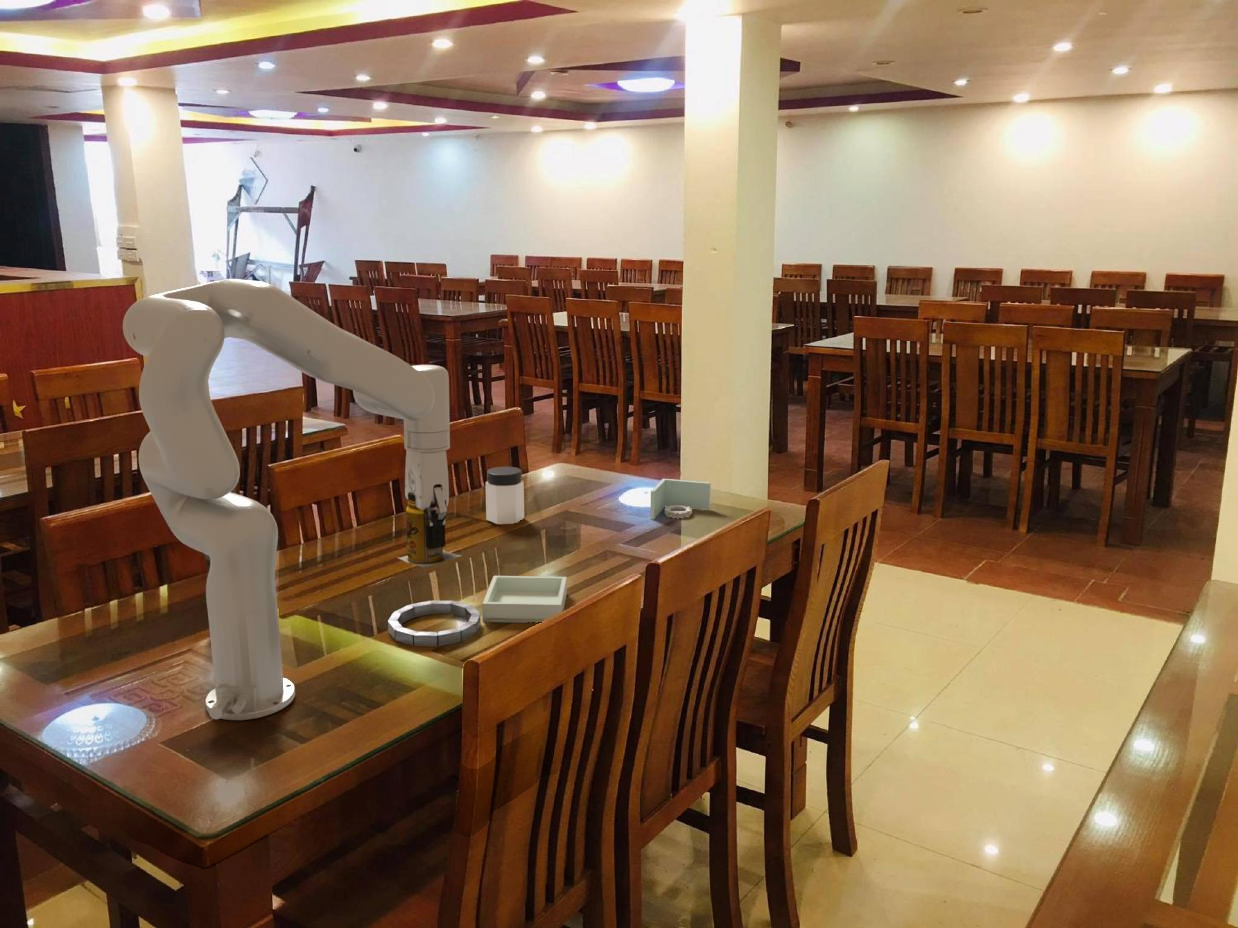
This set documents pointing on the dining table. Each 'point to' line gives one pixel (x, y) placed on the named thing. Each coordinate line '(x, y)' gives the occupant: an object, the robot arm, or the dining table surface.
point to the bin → (524, 598)
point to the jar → (504, 495)
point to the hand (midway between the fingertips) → (429, 540)
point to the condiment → (421, 538)
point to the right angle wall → (679, 497)
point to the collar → (434, 637)
